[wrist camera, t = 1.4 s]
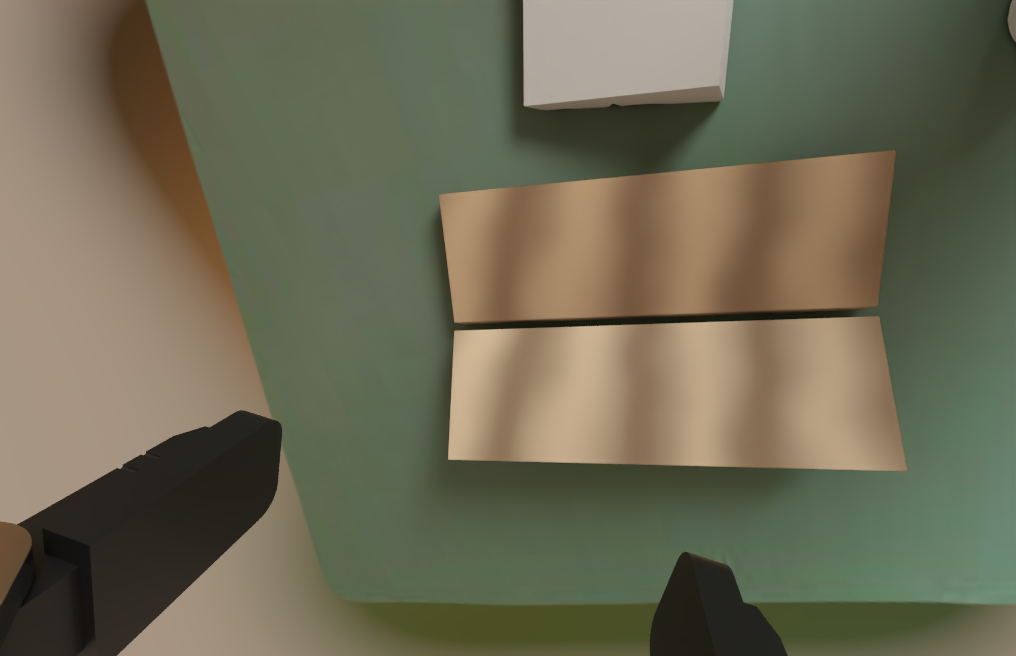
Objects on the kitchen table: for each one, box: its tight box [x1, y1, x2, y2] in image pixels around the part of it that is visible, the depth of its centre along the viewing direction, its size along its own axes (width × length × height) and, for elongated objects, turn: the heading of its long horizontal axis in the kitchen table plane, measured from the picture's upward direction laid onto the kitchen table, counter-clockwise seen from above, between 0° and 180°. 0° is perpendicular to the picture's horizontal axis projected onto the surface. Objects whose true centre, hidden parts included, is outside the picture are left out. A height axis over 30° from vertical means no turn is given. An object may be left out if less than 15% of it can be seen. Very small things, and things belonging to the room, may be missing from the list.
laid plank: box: [439, 150, 896, 324], centre depth 28 cm, size 24×8×2 cm, turn 95°
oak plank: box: [448, 316, 907, 471], centre depth 28 cm, size 24×8×2 cm, turn 95°
